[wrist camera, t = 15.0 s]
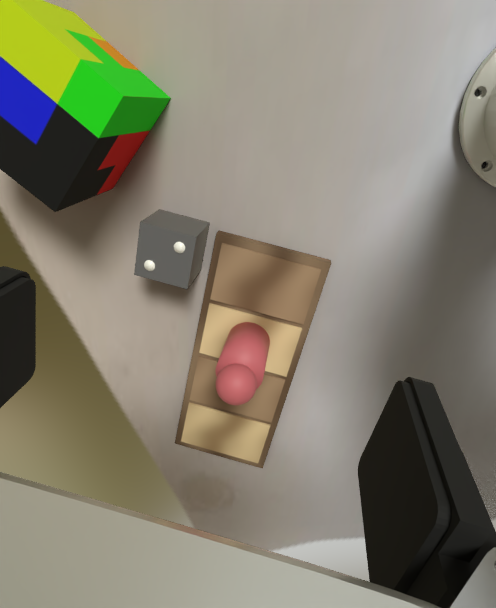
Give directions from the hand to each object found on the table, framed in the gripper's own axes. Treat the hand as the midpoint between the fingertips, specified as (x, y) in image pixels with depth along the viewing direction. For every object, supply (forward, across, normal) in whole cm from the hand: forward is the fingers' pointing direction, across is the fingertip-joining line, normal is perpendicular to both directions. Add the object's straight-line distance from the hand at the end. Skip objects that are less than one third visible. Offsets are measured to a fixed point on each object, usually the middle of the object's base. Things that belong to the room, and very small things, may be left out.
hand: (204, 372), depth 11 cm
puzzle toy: (+31, +18, -2) cm, 36 cm away
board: (+30, 0, +20) cm, 36 cm away
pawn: (+29, 0, +16) cm, 33 cm away
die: (+30, +8, +8) cm, 33 cm away
